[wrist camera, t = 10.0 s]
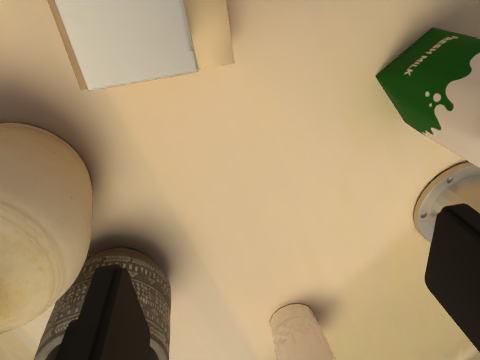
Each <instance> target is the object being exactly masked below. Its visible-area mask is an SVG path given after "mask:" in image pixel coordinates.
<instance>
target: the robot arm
mask: <svg viewBox="0 0 480 360" xmlns="http://www.w3.org/2000/svg"><path fill="white" fill-rule="evenodd" d="M414 224H415V227H416V229H417V231H418V232H419V233H420V234H421V235H422V236H423V237H424V238H425V239H426V240H428V241H429V242H431V247H430V252H429V257H428V262H427V268H426V273H425V283H426V285H427V287H428V289H429V290H430V292H431V293H432V294H433V295H434V297H435V298H436V299H437V300H438V301H439V303H440V304H441V305H442V306H443V308H444V309H445V310H446V311H447V313H448V314H449V315H450V316H451V317H452V319H453V320H454V321H455V322H456V324H457V325H458V326H459V327H460V329H461V330H462V331H463V332H464V333H465V335H466V336H467V337H468V338H469V340H470V341H471V342H472V343H473V345H474V346H475V347H476V348H477V350H478V351H479V352H480V168H479V167H477V166H475V165H474V164H472V163H470V162H467V163H462V164H460V165H457V166H454V167H452V168H451V169H449V170H447V171H445V172H444V173H442V174H441V175H439V176H438V177H437V178H435V179H434V180H433V181H432V182H431V183H430V184H429V185H428V186H427V188H426V189H425V190H424V191H423V193H422V194H421V196H420V198H419V199H418V202H417V204H416V207H415V211H414ZM149 348H150V330H149V327H148V324H147V321H146V319H145V316H144V313H143V311H142V308H141V305H140V302H139V300H138V297H137V294H136V292H135V289H134V286H133V284H132V281H131V278H130V276H129V273H128V270H127V269H126V268H121V267H120V266H119V264H113V265H107V266H101V267H97V268H96V270H95V272H94V274H93V277H92V280H91V283H90V286H89V289H88V292H87V294H86V297H85V300H84V303H83V306H82V309H81V311H80V314H79V317H78V319H75V320H72V321H71V322H70V323H69V325H68V327H67V329H66V331H65V334H64V337H63V339H62V342H61V345H60V347H59V350H58V352H57V355H56V358H55V360H148V356H149Z"/></svg>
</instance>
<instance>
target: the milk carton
mask: <svg viewBox="0 0 480 360" xmlns="http://www.w3.org/2000/svg"><path fill="white" fill-rule="evenodd" d="M376 78H377V80H378V81H379V83H380V84H381V86H382V87H383V89H384V90H385V92H386V93H387V95H388V97H389V98H390V100H391V101H392V103H393V104H394V106H395V107H396V109H397V110H398V112H399V114H400V115H401V117H402V118H403V120H404V121H405V123H407V124H408V125H410V126H411V127H413V128H414V129H416V130H417V131H419V132H420V133H422V134H423V135H425V136H427V137H428V138H430V139H432V140H433V141H435V142H437V143H438V144H440V145H442V146H443V147H445V148H447V149H448V150H450V151H452V152H453V153H455V154H457V155H459V156H460V157H462V158H464V159H465V160H467V161H469V162H470V163H472V164H474V165H475V166H477V167H479V168H480V38H475V37H471V36H467V35H462V34H458V33H453V32H449V31H445V30H440V29H436V28H432V29H431V30H430V31H428V32H427V33H426V34H425V35H424V36H422V37H421V38H420V39H419V40H418V41H417V42H415V43H414V44H413V45H412V46H411V47H410V48H408V49H407V50H406V51H405V52H404V53H403V54H401V55H400V56H399V57H398V58H397V59H396V60H394V61H393V62H392V63H391V64H390V65H389V66H387V67H386V68H385V69H384V70H383V71H382V72H380V73H379V74H378V75H377V76H376Z"/></svg>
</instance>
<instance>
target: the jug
mask: <svg viewBox="0 0 480 360" xmlns="http://www.w3.org/2000/svg"><path fill="white" fill-rule="evenodd" d="M92 208H93V194H92V186H91V181H90V177H89V173H88V170H87V168H86V166H85V164H84V162H83V160H82V159H81V157H80V156H79V155H78V154H77V152H76V151H75V150H74V149H73V148H72V147H71V146H70V145H69V144H67V143H66V142H65V141H63V140H62V139H61V138H59V137H57V136H56V135H54V134H52V133H50V132H48V131H46V130H44V129H41V128H38V127H35V126H32V125H27V124H21V123H0V334H2V333H4V332H7V331H10V330H12V329H15V328H18V327H20V326H22V325H24V324H26V323H28V322H30V321H31V320H33V319H35V318H36V317H38V316H39V315H41V314H42V313H43V312H44V311H46V310H47V309H48V308H49V307H51V306H52V305H53V304H54V303H55V302H56V301H57V300H58V299H59V298H60V297H61V296H62V295H63V294H64V293H65V292H66V291H67V290H68V289H69V288H70V286H71V285H72V284H73V282H74V281H75V279H76V278H77V276H78V275H79V273H80V271H81V269H82V267H83V264H84V262H85V260H86V257H87V253H88V250H89V245H90V239H91V230H92V211H93V210H92Z"/></svg>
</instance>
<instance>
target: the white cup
mask: <svg viewBox="0 0 480 360" xmlns="http://www.w3.org/2000/svg"><path fill="white" fill-rule="evenodd" d="M270 325H271V329H272V333H273V343H274V348H275V353H276V358H277V360H336V358H335V356H334V354H333V352H332V350H331V348H330V346H329V344H328V342H327V339H326V338H325V336H324V334H323V332H322V329H321V328H320V326H319V324H318V323H317V321H316V319H315V316H314V314H313V312H312V310H310V309H309V308H308V307H307V306H305V305H301V304H291V305H287V306H285V307H282V308H280V309H279V310H278V311H277V312H276V313H274V314H273V316H272V318H271V321H270Z"/></svg>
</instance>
